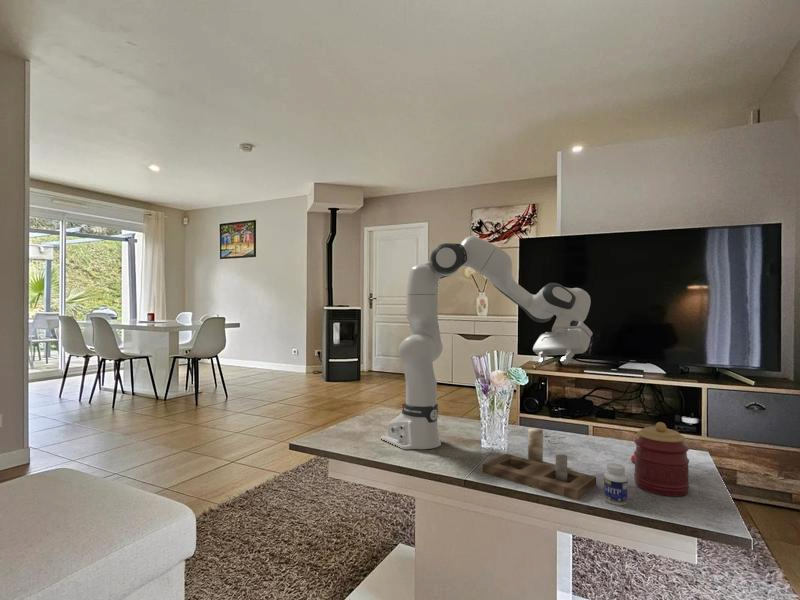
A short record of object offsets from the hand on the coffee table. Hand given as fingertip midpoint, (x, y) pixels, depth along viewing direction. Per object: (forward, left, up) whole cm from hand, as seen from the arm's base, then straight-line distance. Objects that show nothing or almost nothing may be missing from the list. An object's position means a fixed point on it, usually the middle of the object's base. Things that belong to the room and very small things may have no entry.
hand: (552, 363), depth 147 cm
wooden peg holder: (+5, -21, -30) cm, 37 cm away
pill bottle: (+26, -21, -31) cm, 46 cm away
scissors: (-15, +19, -31) cm, 39 cm away
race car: (+24, +18, -31) cm, 43 cm away
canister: (+32, -3, -31) cm, 45 cm away
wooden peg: (-2, -8, -30) cm, 32 cm away
